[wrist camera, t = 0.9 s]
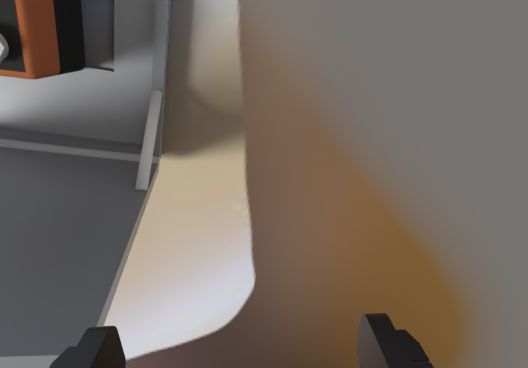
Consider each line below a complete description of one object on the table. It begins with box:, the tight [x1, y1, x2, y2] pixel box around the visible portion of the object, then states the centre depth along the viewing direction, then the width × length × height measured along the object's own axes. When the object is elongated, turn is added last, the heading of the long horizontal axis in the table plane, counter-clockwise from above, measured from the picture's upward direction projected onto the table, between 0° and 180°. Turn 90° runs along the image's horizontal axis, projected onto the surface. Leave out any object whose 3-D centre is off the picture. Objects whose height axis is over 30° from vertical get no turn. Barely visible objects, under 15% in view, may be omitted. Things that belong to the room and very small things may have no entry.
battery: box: [0, 0, 85, 80], centre depth 21 cm, size 4×7×10 cm, turn 171°
